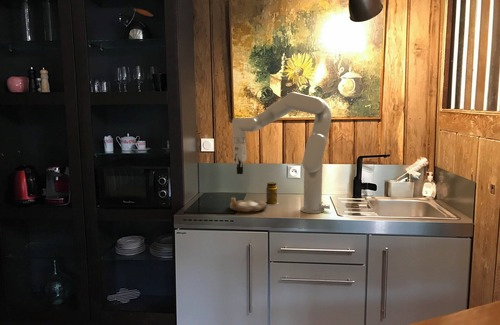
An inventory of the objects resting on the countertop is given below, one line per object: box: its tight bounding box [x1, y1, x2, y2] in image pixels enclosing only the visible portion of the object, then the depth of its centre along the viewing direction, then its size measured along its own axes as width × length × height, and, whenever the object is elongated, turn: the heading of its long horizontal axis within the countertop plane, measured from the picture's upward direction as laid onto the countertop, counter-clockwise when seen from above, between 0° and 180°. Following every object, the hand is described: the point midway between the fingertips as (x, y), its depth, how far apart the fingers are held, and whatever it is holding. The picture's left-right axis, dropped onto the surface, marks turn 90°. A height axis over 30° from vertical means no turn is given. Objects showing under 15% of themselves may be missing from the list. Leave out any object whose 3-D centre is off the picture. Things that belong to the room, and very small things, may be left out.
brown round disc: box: [229, 197, 268, 212], centre depth 227 cm, size 20×20×6 cm
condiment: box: [264, 181, 280, 206], centre depth 241 cm, size 7×8×12 cm
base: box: [239, 211, 257, 213], centre depth 228 cm, size 12×12×1 cm
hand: (240, 173), depth 231 cm, fingers closed
